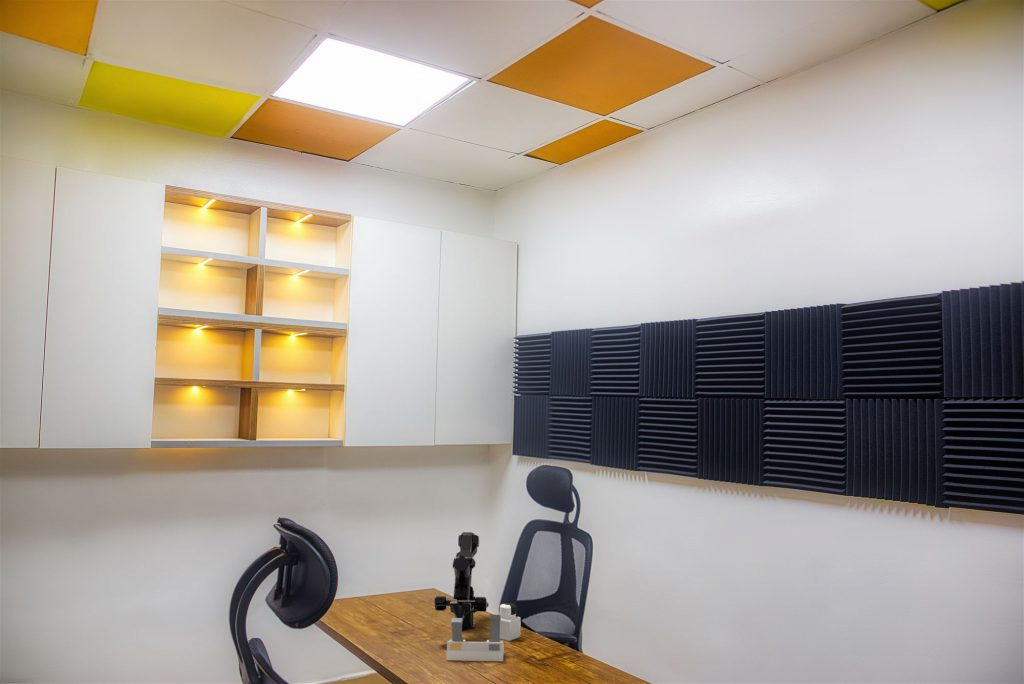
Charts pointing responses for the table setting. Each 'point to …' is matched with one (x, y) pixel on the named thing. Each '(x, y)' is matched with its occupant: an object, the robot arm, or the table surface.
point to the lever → (495, 628)
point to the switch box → (475, 651)
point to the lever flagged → (456, 629)
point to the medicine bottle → (509, 622)
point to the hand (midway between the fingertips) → (459, 625)
